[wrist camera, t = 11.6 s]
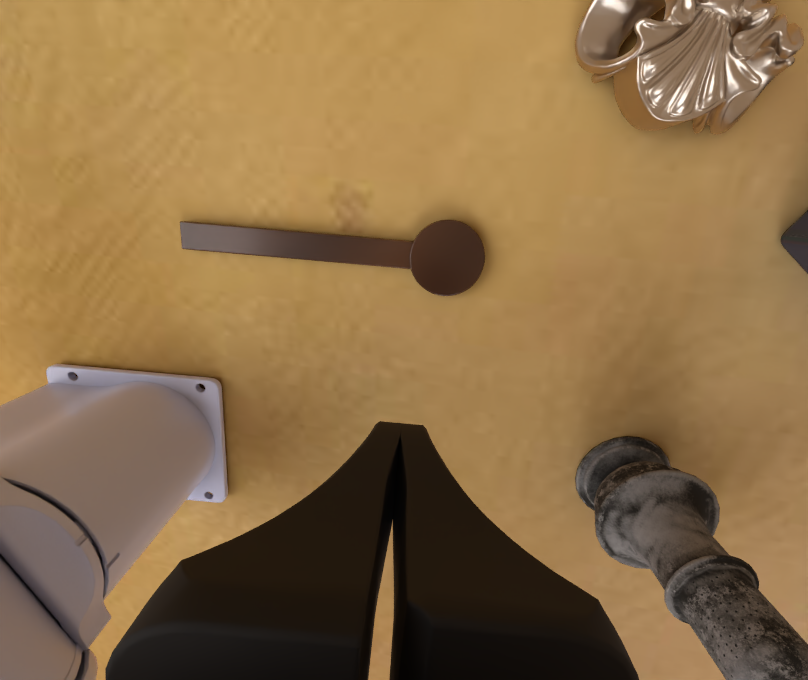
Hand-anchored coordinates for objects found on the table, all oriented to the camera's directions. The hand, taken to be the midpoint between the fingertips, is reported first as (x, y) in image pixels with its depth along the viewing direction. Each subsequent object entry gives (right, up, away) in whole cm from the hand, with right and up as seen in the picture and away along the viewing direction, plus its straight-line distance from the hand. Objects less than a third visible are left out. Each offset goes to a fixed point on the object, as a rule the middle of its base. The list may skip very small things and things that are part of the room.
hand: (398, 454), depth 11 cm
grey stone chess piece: (+13, -5, +12) cm, 18 cm away
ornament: (+11, +15, +6) cm, 20 cm away
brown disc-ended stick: (-3, +8, +9) cm, 12 cm away
